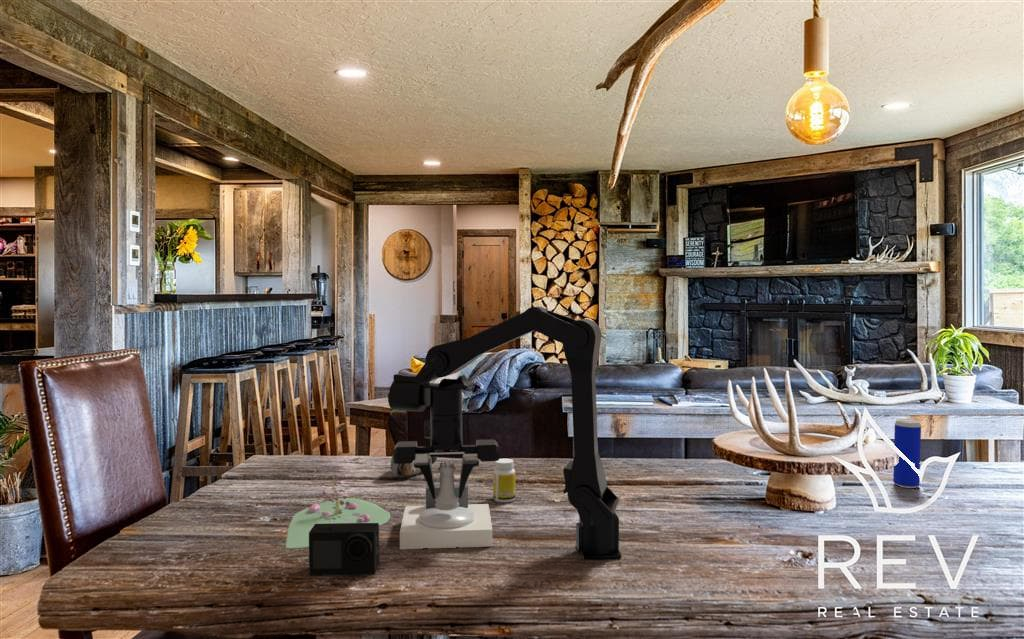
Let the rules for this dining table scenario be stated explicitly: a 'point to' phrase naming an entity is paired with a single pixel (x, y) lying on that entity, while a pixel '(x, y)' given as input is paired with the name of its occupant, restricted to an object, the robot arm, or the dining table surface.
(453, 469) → the rook chess piece
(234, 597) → the dining table surface
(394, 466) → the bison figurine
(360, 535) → the digital camera
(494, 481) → the supplement bottle
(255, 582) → the dining table surface
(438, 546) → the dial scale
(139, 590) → the dining table surface
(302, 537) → the plant
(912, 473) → the beverage can
